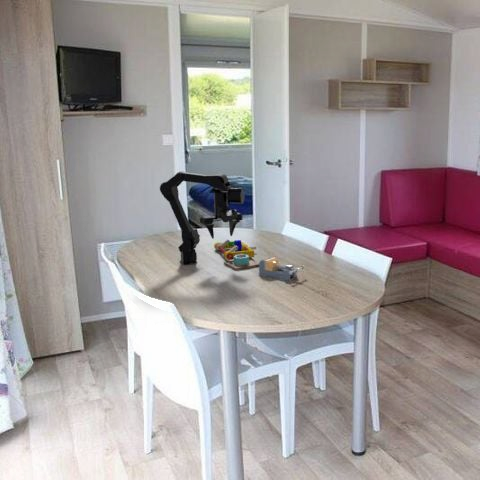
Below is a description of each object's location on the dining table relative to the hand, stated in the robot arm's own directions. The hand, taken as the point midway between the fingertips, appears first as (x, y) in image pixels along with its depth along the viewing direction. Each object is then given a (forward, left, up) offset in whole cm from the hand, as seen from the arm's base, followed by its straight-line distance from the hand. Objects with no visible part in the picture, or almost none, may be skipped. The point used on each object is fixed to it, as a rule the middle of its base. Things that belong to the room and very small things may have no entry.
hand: (222, 237), depth 241 cm
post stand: (+7, -5, -13) cm, 16 cm away
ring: (+7, -5, -12) cm, 15 cm away
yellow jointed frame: (+14, +11, -13) cm, 22 cm away
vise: (+13, -28, -13) cm, 34 cm away
